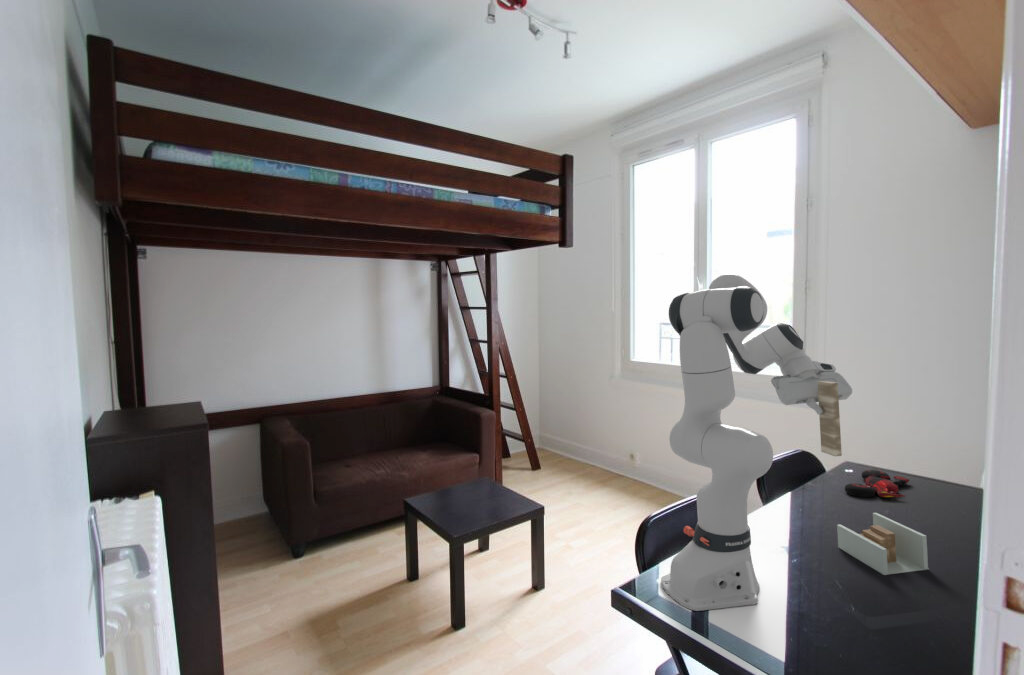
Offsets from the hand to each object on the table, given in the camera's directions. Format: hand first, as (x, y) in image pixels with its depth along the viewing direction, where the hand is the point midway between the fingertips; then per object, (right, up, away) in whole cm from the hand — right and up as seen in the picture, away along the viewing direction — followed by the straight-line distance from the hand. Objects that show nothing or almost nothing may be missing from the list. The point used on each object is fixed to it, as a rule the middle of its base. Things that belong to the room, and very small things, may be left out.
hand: (828, 412), depth 133 cm
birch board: (+1, -11, 0) cm, 11 cm away
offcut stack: (+3, -34, -13) cm, 37 cm away
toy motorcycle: (+39, -32, +32) cm, 60 cm away
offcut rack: (+5, -36, -13) cm, 38 cm away
